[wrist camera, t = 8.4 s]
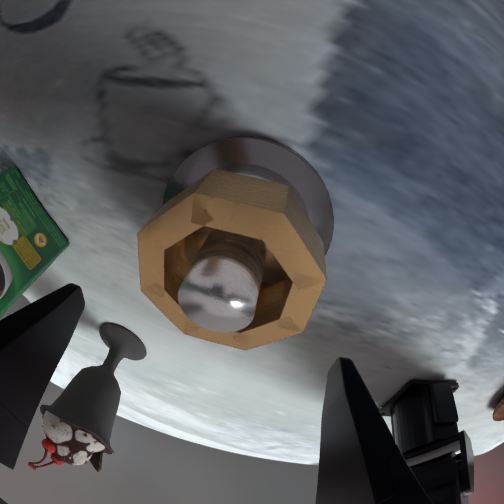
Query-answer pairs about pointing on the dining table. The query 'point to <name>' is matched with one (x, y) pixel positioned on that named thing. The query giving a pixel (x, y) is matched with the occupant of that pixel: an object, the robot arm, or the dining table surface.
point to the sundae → (89, 405)
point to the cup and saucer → (499, 411)
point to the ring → (244, 223)
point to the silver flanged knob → (235, 245)
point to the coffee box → (23, 238)
